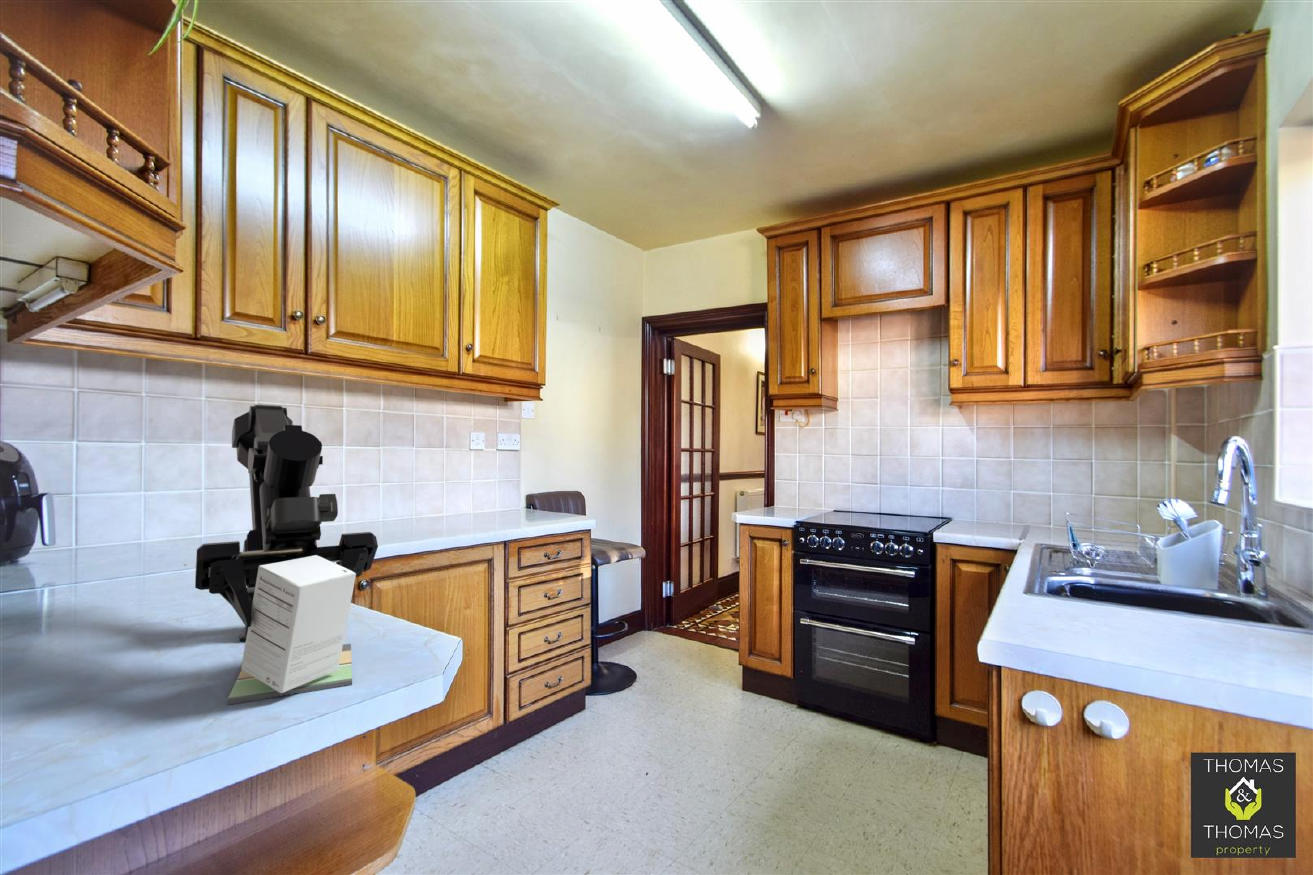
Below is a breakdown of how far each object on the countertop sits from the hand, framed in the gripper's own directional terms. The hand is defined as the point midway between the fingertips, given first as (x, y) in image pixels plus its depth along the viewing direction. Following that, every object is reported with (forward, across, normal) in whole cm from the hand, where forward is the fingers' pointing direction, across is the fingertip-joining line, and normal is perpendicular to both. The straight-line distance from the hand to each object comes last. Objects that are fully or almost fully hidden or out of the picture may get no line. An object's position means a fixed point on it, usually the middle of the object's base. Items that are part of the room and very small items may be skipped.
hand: (297, 617), depth 67 cm
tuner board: (+2, +1, +10) cm, 10 cm away
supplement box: (+4, 0, +6) cm, 7 cm away
